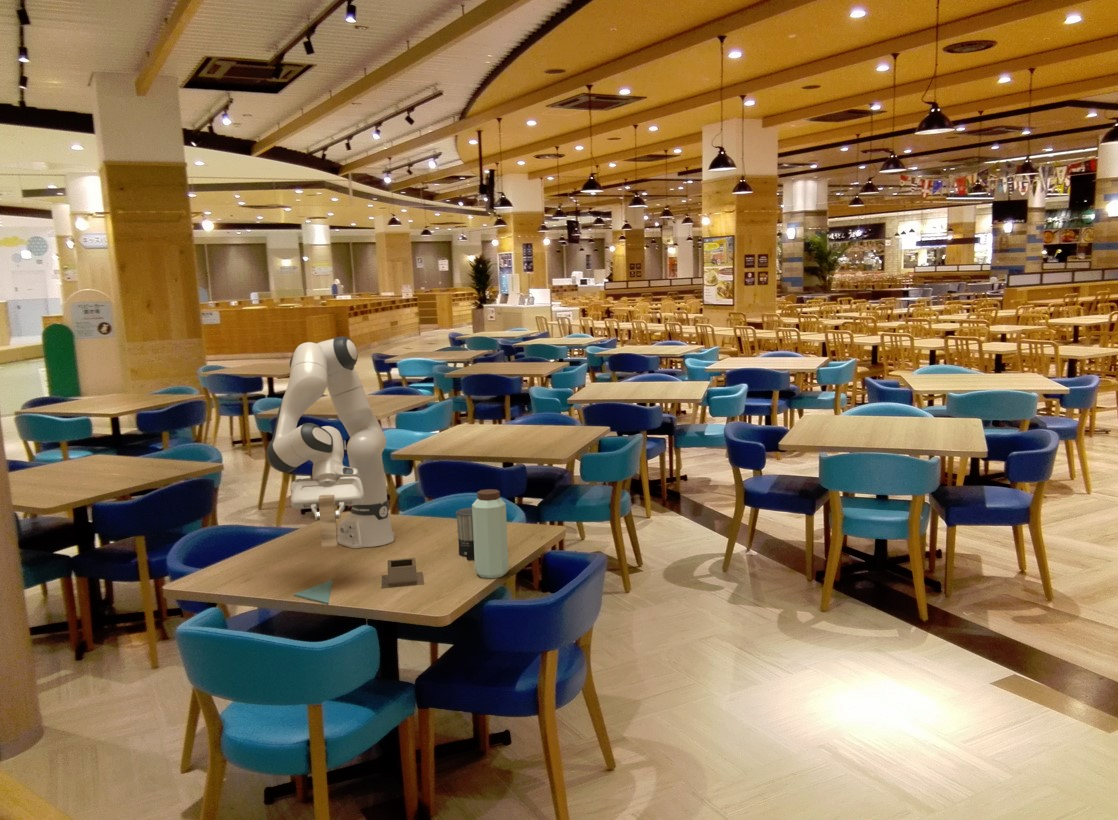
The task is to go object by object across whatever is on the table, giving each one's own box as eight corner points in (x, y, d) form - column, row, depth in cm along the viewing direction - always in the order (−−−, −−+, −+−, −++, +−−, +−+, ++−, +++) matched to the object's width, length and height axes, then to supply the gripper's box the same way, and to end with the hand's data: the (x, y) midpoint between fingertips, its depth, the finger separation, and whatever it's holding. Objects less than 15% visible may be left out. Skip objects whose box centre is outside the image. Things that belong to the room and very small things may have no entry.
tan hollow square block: (381, 578, 257) (380, 559, 257) (422, 574, 260) (421, 555, 259) (381, 591, 246) (380, 571, 245) (424, 587, 248) (423, 567, 247)
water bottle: (477, 569, 263) (473, 488, 260) (510, 568, 263) (506, 487, 260) (473, 579, 253) (469, 496, 250) (507, 579, 253) (503, 495, 250)
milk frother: (454, 560, 273) (452, 514, 271) (466, 546, 288) (463, 502, 286) (499, 560, 271) (497, 514, 269) (508, 546, 287) (506, 502, 285)
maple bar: (323, 543, 247) (319, 495, 245) (337, 542, 247) (334, 494, 246) (322, 547, 243) (318, 498, 241) (336, 546, 244) (333, 497, 242)
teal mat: (293, 595, 245) (293, 594, 245) (337, 579, 258) (337, 577, 258) (332, 605, 236) (332, 603, 236) (375, 588, 249) (375, 586, 249)
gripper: (289, 473, 247) (287, 515, 239) (362, 468, 251) (363, 509, 243) (292, 485, 252) (290, 527, 244) (364, 480, 256) (365, 521, 248)
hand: (327, 518), depth 244 cm, fingers closed on maple bar, 4 cm apart
